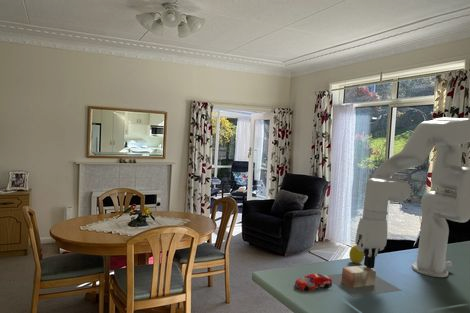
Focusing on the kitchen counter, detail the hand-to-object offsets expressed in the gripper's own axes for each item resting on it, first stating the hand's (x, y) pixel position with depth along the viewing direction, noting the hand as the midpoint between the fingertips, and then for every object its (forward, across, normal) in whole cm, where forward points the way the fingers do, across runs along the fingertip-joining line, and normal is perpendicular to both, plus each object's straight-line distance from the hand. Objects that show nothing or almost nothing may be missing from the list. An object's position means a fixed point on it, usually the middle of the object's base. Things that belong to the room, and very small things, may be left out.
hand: (368, 266), depth 125 cm
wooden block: (+3, -1, 0) cm, 3 cm away
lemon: (+6, -8, -16) cm, 19 cm away
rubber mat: (+6, +2, 0) cm, 7 cm away
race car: (+7, +20, -2) cm, 22 cm away
